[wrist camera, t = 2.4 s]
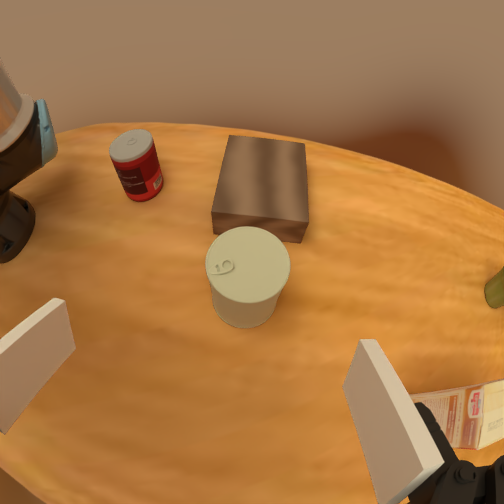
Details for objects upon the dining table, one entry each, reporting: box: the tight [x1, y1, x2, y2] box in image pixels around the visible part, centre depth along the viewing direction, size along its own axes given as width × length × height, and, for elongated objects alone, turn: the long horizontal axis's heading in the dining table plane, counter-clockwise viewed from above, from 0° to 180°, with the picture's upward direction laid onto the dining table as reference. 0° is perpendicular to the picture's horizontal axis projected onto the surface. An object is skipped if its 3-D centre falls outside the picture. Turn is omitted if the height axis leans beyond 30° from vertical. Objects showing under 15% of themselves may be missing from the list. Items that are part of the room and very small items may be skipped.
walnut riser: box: [211, 135, 309, 243], centre depth 46 cm, size 14×18×6 cm
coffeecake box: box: [409, 378, 504, 450], centre depth 23 cm, size 15×7×20 cm, turn 82°
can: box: [205, 226, 290, 328], centre depth 34 cm, size 9×9×12 cm
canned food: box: [109, 129, 163, 202], centre depth 44 cm, size 8×8×11 cm
